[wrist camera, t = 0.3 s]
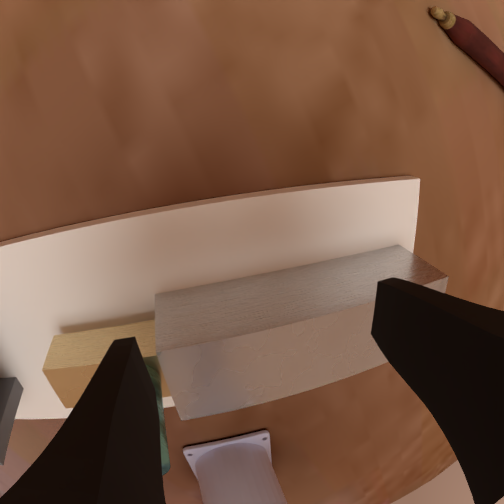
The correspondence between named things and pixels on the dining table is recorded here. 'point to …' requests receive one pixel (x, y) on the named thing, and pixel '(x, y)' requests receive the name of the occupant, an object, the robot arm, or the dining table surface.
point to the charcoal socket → (8, 410)
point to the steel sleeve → (276, 330)
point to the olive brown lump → (472, 42)
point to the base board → (177, 261)
